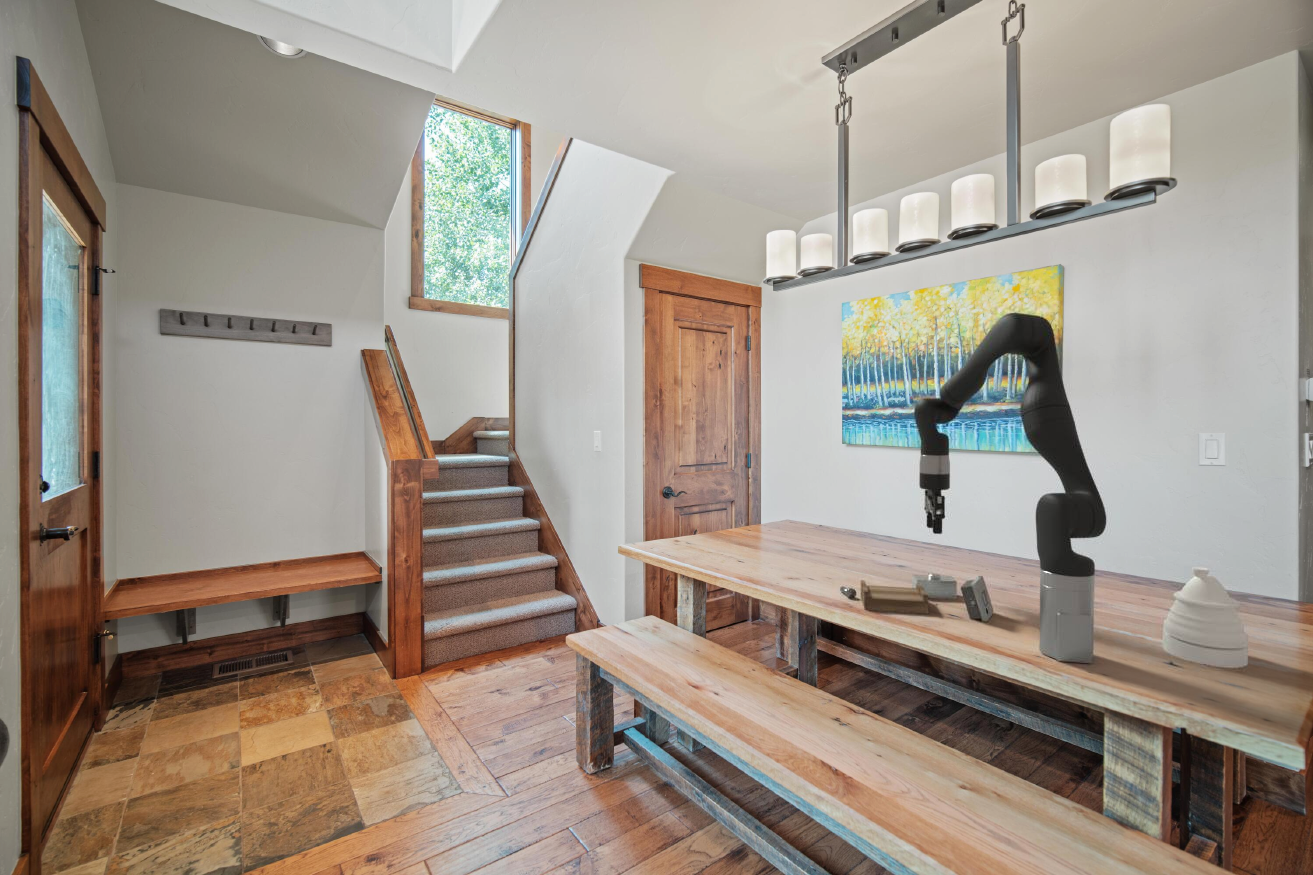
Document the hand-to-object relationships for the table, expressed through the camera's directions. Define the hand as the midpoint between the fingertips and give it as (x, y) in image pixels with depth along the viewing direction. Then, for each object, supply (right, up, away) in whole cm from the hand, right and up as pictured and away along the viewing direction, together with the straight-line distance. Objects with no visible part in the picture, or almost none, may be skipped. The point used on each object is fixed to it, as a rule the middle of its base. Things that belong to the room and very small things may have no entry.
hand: (934, 530), depth 164 cm
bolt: (-23, -18, +1) cm, 29 cm away
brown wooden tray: (-14, -18, -7) cm, 24 cm away
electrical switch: (+3, -19, -17) cm, 25 cm away
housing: (0, -18, +1) cm, 18 cm away
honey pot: (+36, -19, -41) cm, 58 cm away
